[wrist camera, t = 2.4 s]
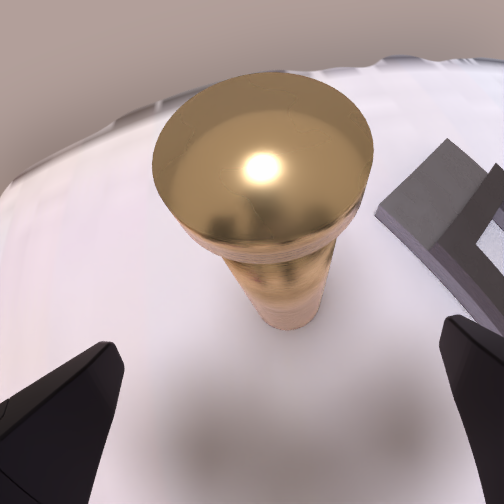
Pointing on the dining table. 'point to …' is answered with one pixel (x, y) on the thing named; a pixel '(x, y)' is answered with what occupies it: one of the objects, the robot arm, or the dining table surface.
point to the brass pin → (267, 183)
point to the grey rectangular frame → (453, 227)
